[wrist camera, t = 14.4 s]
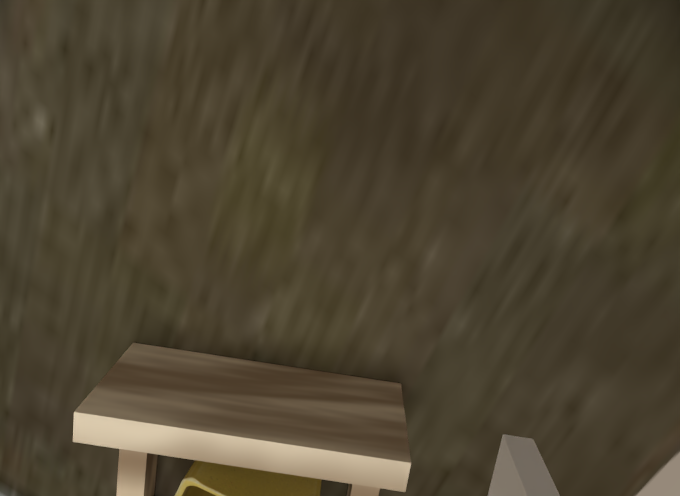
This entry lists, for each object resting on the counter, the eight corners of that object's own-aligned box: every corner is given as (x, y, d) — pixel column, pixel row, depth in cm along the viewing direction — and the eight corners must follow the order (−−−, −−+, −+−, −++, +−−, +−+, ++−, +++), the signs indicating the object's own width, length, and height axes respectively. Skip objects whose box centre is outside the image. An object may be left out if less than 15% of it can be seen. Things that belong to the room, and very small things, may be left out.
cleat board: (133, 342, 47) (74, 411, 37) (400, 383, 47) (411, 462, 37) (121, 508, 51) (65, 610, 41) (369, 545, 51) (371, 655, 41)
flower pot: (195, 446, 49) (145, 551, 42) (232, 375, 45) (183, 478, 37) (296, 493, 50) (265, 604, 43) (343, 428, 46) (317, 539, 38)
